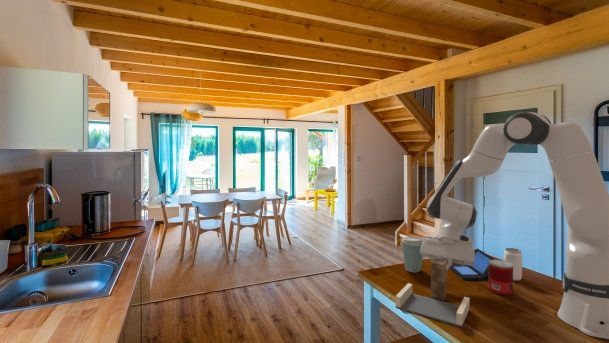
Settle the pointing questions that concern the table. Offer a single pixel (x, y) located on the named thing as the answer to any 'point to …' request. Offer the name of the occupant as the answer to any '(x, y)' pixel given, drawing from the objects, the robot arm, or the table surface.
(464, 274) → the handheld game console
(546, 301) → the table surface
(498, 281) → the canned food
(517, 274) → the can
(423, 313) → the rubber mat with end rails
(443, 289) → the walnut block
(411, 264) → the disposable coffee cup
